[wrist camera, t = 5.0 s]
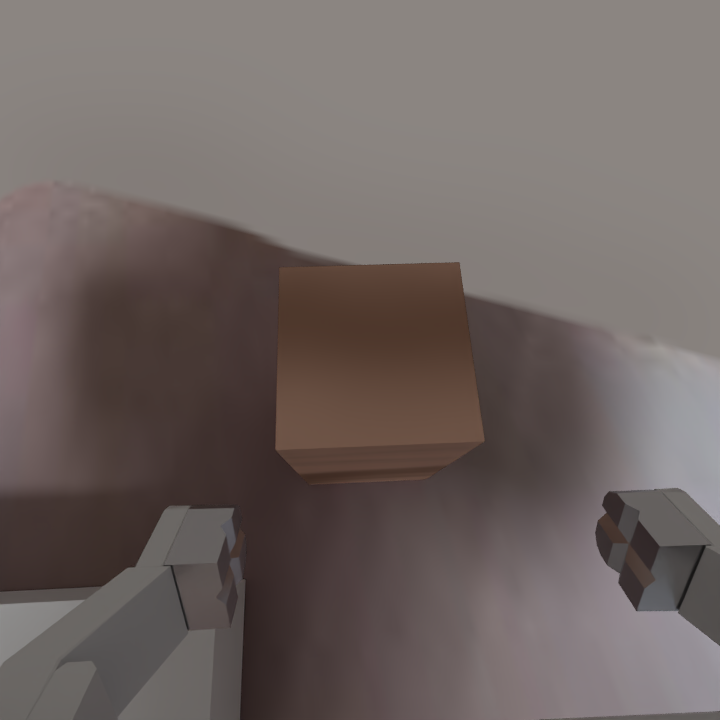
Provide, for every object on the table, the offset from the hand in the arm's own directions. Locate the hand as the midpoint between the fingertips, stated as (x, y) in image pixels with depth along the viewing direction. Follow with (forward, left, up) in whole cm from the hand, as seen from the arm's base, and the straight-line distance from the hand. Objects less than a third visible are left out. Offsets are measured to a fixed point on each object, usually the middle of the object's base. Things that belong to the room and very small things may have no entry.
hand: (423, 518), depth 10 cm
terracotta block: (+4, +1, -9) cm, 10 cm away
